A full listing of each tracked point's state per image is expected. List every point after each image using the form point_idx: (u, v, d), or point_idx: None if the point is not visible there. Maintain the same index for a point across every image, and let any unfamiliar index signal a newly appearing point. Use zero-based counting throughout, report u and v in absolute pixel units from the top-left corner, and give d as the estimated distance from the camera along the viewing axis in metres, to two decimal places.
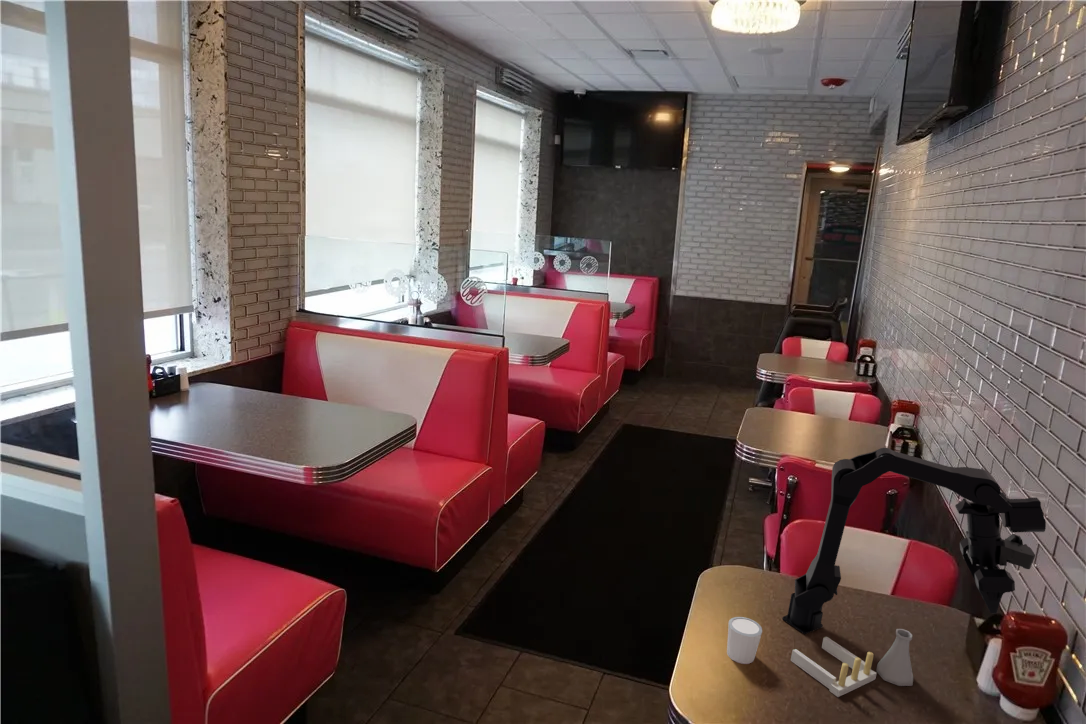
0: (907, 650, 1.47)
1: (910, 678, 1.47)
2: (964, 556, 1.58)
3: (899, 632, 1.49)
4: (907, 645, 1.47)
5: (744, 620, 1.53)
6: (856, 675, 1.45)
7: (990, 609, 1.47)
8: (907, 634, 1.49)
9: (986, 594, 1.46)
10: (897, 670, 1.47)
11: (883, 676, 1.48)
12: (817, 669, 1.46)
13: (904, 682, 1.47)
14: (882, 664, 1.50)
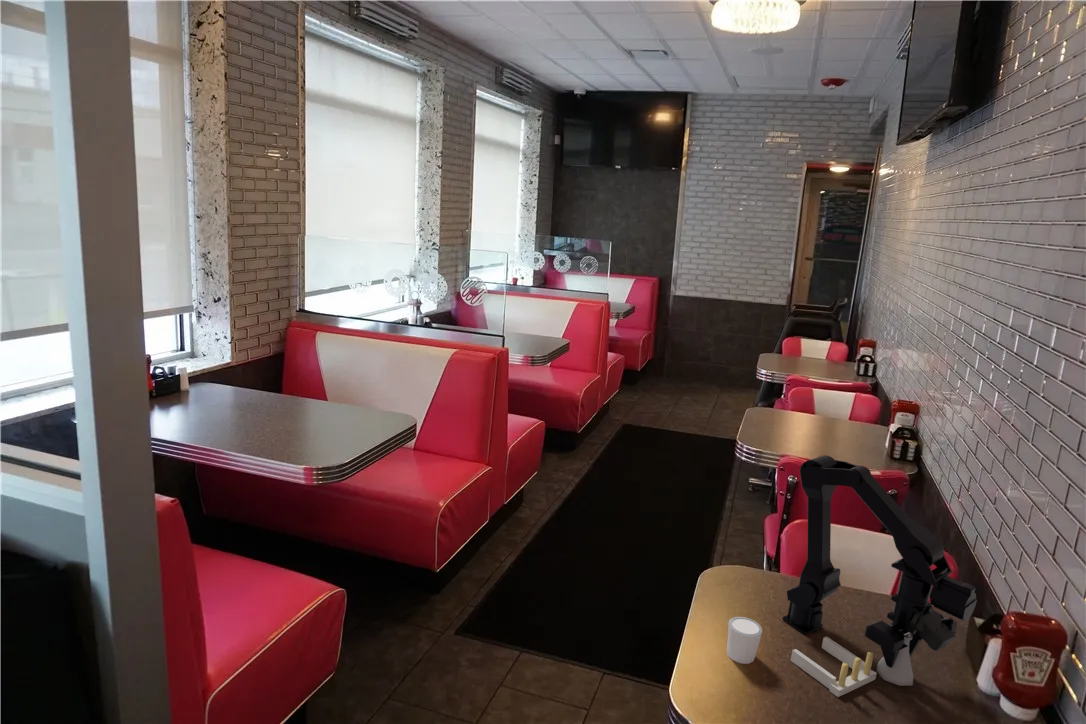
0: (907, 650, 1.47)
1: (910, 678, 1.47)
2: None
3: None
4: None
5: (744, 620, 1.53)
6: (856, 675, 1.45)
7: (886, 661, 1.48)
8: (907, 634, 1.49)
9: None
10: (897, 670, 1.47)
11: (883, 676, 1.48)
12: (817, 669, 1.46)
13: (904, 682, 1.47)
14: (882, 664, 1.50)
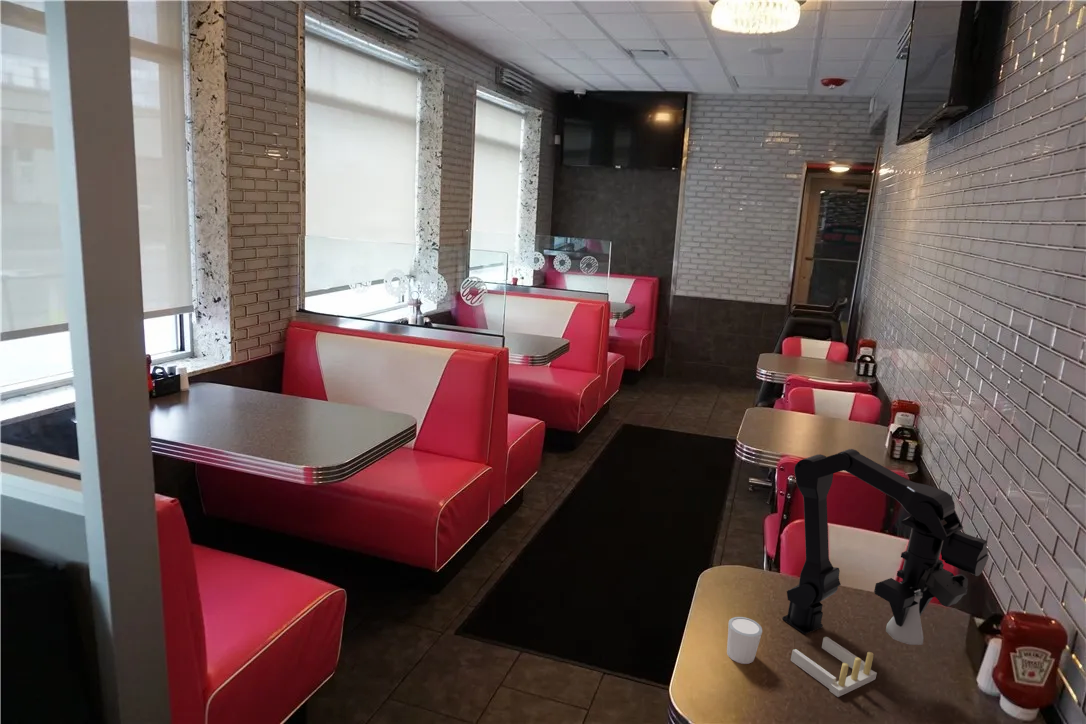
0: (917, 608, 1.45)
1: (920, 637, 1.45)
2: None
3: None
4: None
5: (744, 620, 1.53)
6: (856, 675, 1.45)
7: (895, 619, 1.46)
8: (917, 593, 1.46)
9: None
10: (907, 629, 1.45)
11: (893, 635, 1.46)
12: (817, 669, 1.46)
13: (914, 641, 1.44)
14: (892, 624, 1.47)
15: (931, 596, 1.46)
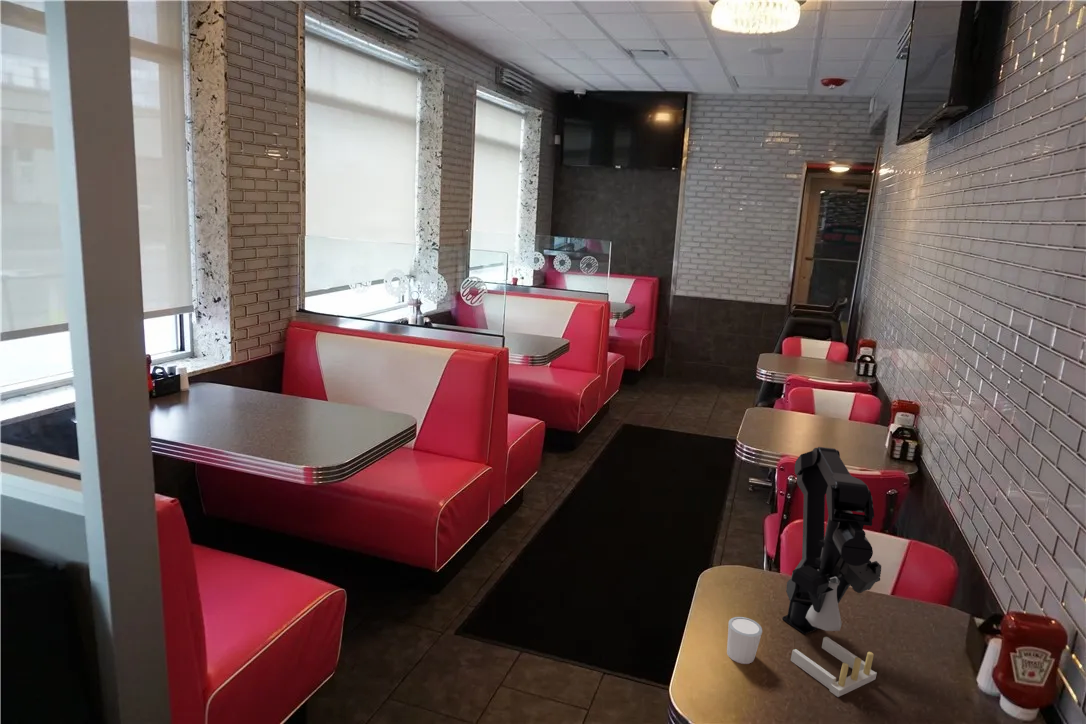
0: (834, 595, 1.48)
1: (837, 623, 1.48)
2: None
3: None
4: (834, 590, 1.48)
5: (744, 620, 1.53)
6: (856, 675, 1.45)
7: (813, 606, 1.49)
8: (835, 580, 1.50)
9: None
10: (825, 615, 1.48)
11: (811, 622, 1.50)
12: (817, 669, 1.46)
13: (831, 627, 1.48)
14: (811, 610, 1.51)
15: (848, 583, 1.49)
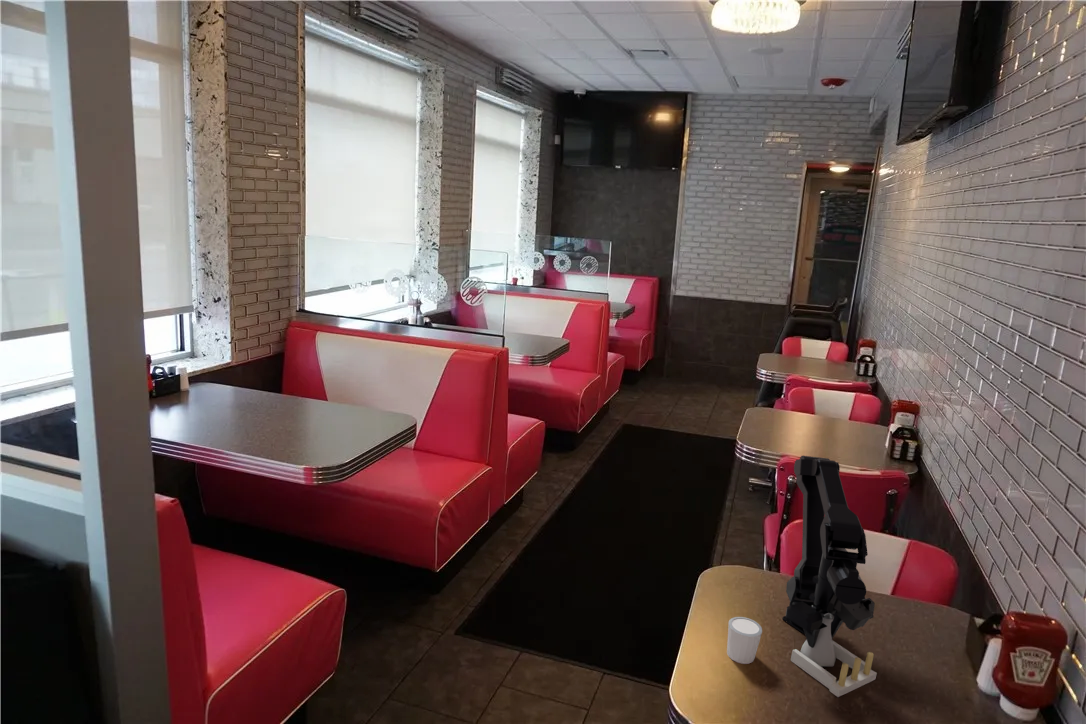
0: (828, 631, 1.50)
1: (831, 659, 1.50)
2: None
3: None
4: (828, 626, 1.50)
5: (744, 620, 1.53)
6: (856, 675, 1.45)
7: (808, 641, 1.51)
8: (829, 616, 1.52)
9: None
10: (819, 651, 1.50)
11: None
12: (817, 669, 1.46)
13: (825, 663, 1.50)
14: (805, 645, 1.53)
15: None
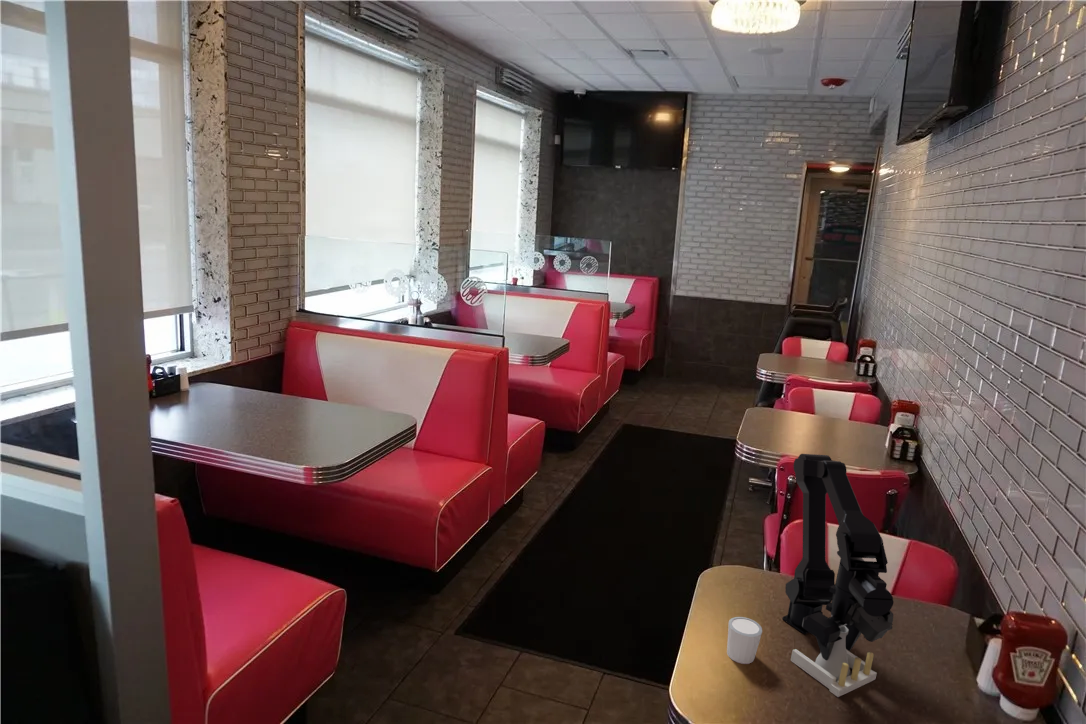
0: (843, 645, 1.47)
1: None
2: None
3: None
4: (843, 640, 1.47)
5: (744, 620, 1.53)
6: (856, 675, 1.45)
7: (822, 653, 1.47)
8: (843, 629, 1.49)
9: None
10: (833, 665, 1.47)
11: None
12: (817, 669, 1.46)
13: None
14: (819, 659, 1.50)
15: None
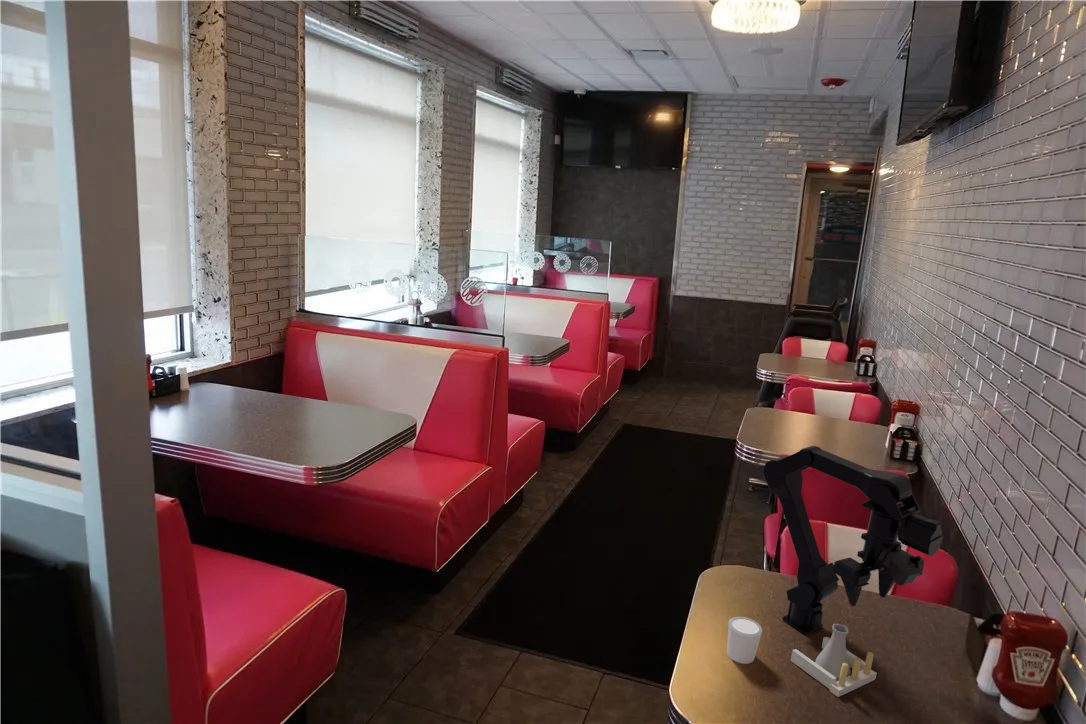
0: (843, 645, 1.47)
1: None
2: None
3: (836, 627, 1.49)
4: (843, 640, 1.47)
5: (744, 620, 1.53)
6: (856, 675, 1.45)
7: (849, 600, 1.51)
8: (843, 629, 1.49)
9: (846, 582, 1.50)
10: (833, 665, 1.47)
11: None
12: (817, 669, 1.46)
13: None
14: (819, 659, 1.50)
15: None
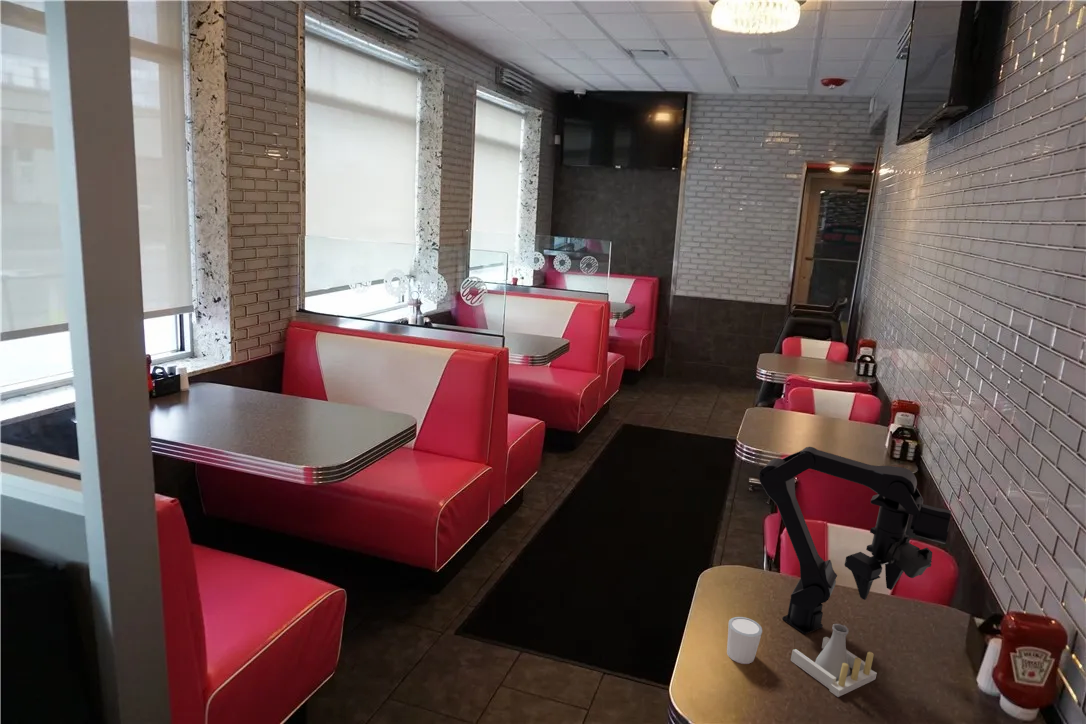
0: (843, 645, 1.47)
1: None
2: None
3: (836, 627, 1.49)
4: (843, 640, 1.47)
5: (744, 620, 1.53)
6: (856, 675, 1.45)
7: (860, 593, 1.53)
8: (843, 629, 1.49)
9: (857, 576, 1.53)
10: (833, 665, 1.47)
11: None
12: (817, 669, 1.46)
13: None
14: (819, 659, 1.50)
15: None
